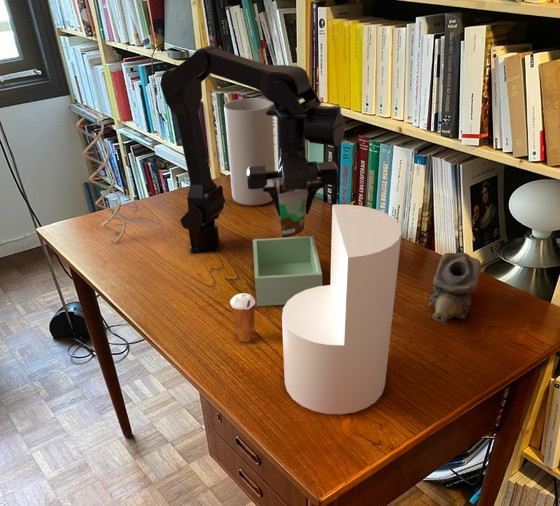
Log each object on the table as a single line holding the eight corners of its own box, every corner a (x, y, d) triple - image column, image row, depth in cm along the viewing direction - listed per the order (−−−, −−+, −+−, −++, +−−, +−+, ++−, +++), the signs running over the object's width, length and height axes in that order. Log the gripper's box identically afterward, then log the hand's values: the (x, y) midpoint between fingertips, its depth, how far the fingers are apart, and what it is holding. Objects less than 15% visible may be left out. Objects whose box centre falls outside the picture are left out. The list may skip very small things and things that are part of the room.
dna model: (106, 232, 147) (76, 110, 128) (131, 231, 147) (104, 108, 128) (101, 244, 141) (68, 118, 122) (126, 243, 141) (98, 116, 122)
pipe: (473, 291, 118) (482, 248, 111) (474, 353, 102) (485, 306, 95) (429, 287, 120) (436, 244, 113) (424, 347, 103) (431, 300, 97)
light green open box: (256, 306, 116) (254, 278, 112) (254, 265, 130) (253, 239, 126) (322, 302, 117) (322, 274, 112) (313, 262, 130) (313, 235, 126)
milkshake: (242, 349, 105) (237, 303, 99) (230, 335, 109) (225, 290, 102) (263, 342, 106) (260, 296, 100) (251, 328, 110) (247, 283, 104)
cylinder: (375, 347, 104) (388, 201, 86) (394, 411, 90) (414, 253, 73) (282, 352, 104) (276, 207, 86) (287, 417, 90) (281, 260, 73)
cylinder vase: (228, 206, 157) (218, 110, 141) (238, 189, 167) (230, 98, 151) (271, 207, 155) (267, 111, 140) (279, 190, 165) (275, 98, 149)
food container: (311, 238, 118) (309, 192, 112) (281, 240, 118) (278, 195, 112) (308, 214, 128) (306, 170, 121) (281, 216, 128) (278, 172, 122)
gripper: (245, 156, 105) (251, 234, 115) (344, 150, 105) (342, 227, 115) (244, 138, 113) (249, 211, 123) (335, 132, 114) (333, 206, 124)
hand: (293, 214), depth 121 cm, fingers closed on food container, 5 cm apart
